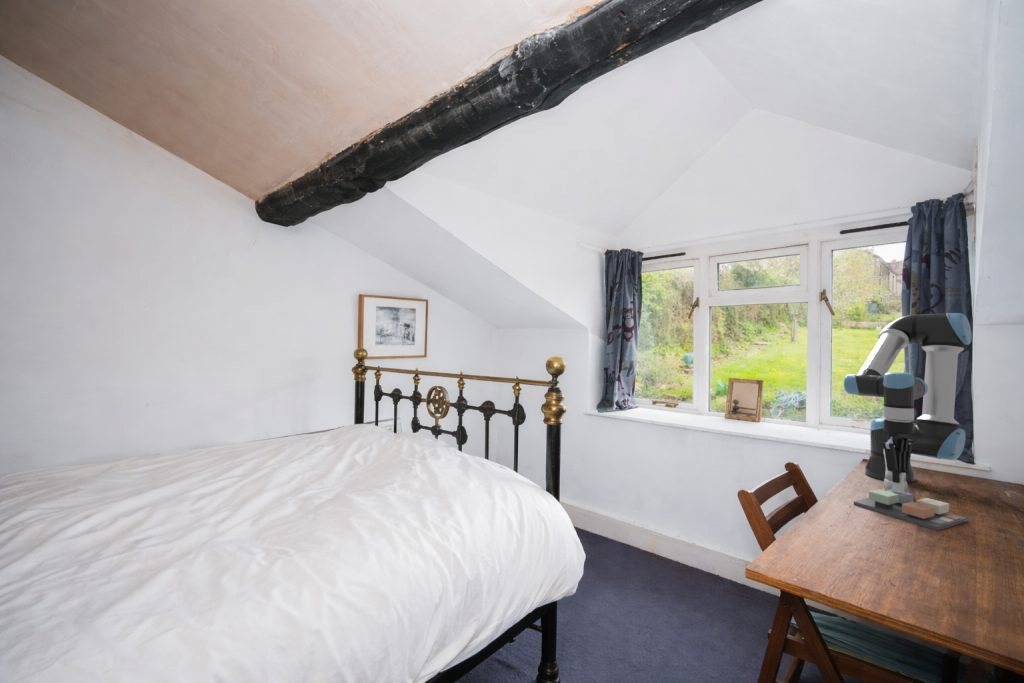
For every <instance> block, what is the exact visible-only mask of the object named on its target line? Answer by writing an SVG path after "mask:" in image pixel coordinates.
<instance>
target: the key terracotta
mask: <svg viewBox="0 0 1024 683" xmlns="http://www.w3.org/2000/svg"><path fill="white" fill-rule="evenodd" d="M902 512H903V513H906V514H909V515H913V516H916V517H920V518H923V519H925V518H929V517H932V516H934V507H931V506H927V505H923V504H920V503H917V501H914V500H913V501H912V502H908V503H904V504H902Z"/></svg>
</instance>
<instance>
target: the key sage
mask: <svg viewBox="0 0 1024 683" xmlns="http://www.w3.org/2000/svg"><path fill="white" fill-rule="evenodd" d="M868 498H869V499H870V500H874V501H877V502H880V503H884V504H887V505H890V504H894V503H898V502H899V494H895V493H892V492H888V491H886V490H885V489H880V488H878V489H874V490H869V491H868Z"/></svg>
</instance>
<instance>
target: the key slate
mask: <svg viewBox="0 0 1024 683" xmlns="http://www.w3.org/2000/svg"><path fill="white" fill-rule="evenodd" d="M887 491H888V492H892V493H895V494H899V502H898V503H900V504H904V503H908V502H912V501H913V502H914V493H910V492H908V491H907V492H904V493H903V494H901V493H897V492H893V491H892V489H891V490H887Z"/></svg>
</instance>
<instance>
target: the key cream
mask: <svg viewBox="0 0 1024 683" xmlns="http://www.w3.org/2000/svg"><path fill="white" fill-rule="evenodd" d="M916 503H920V504H923V505H927V506H931V507H934V513H935V514H943V513H946V512H948V513H950V503H948V502H945V501H940V500H938V499H937V500H936V499H934V498H933V499H932V498H929V497H924V498H920V499H917V500H916Z"/></svg>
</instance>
